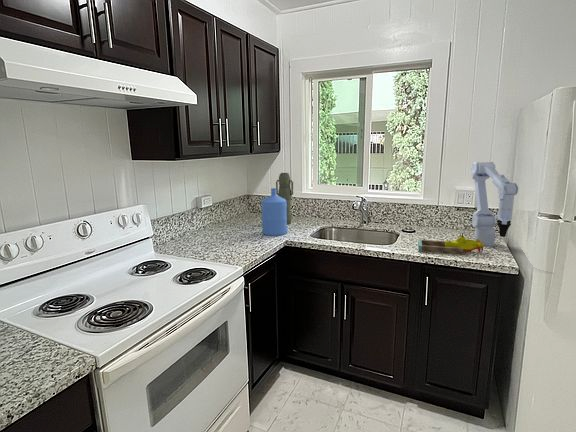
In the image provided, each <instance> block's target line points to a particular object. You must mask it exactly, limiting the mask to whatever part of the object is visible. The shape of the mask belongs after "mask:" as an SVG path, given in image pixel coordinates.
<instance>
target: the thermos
mask: <svg viewBox="0 0 576 432" xmlns="http://www.w3.org/2000/svg"><path fill="white" fill-rule="evenodd" d="M275 187H276V195H277V196H279V197H281V198H283V199H286V203H287V207H286V209H287V226H289V225H291V224H292V223H293V222H292V220H293V218H292V217H293V216H292V206H291V205H292V203H291V200H292V196H293V195H294V181H293V180H292V179H291V177H290V174H289V173H288V172H280V174H279V176H278V179H277V180H276V182H275Z"/></svg>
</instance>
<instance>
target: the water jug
mask: <svg viewBox="0 0 576 432" xmlns="http://www.w3.org/2000/svg"><path fill="white" fill-rule="evenodd" d="M270 190H271V191H270V195H269V196H267V197H265V198H264V199H262V200H261V203H260V206H261V223H262V224H261V225H262V227H261V231H262V235H264V234H265V236H268V235H269V237H279V236H283V235H286V234H287V233H288V225H287V209H286V207H287V203H286V199H283V198H281V197H279V196H278V195H277V194H276V188H270Z"/></svg>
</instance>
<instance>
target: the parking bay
mask: <svg viewBox="0 0 576 432" xmlns="http://www.w3.org/2000/svg"><path fill="white" fill-rule="evenodd" d="M417 241H418V242H417V249H418V252H421V253H434V254H436V253H437V254H445V255H446V254H448V255H458V254H459V256H460V255H461V256H463V255H464V252H463V248H454V247H445V241H446V240H432V239H418V240H417Z"/></svg>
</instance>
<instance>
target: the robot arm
mask: <svg viewBox="0 0 576 432" xmlns="http://www.w3.org/2000/svg"><path fill="white" fill-rule="evenodd" d="M470 171H471V179H473V181H474V182H473V183H474V189H475V191H474V192H475V198H476V207H477V210H476V211H475V212H473V214H472V220H471V224H472V225H473V227H474V228H475V229H474V238H475V239H474V238H473V240H474V241H475V240H476V239H479V241H481V242H483V244H484V247H485V246H486V247H495V244H496V243H495V241H496V229H495V228H493V227H494V226H495V225H496V223H497V226H498V230H499V231H498V232H499V237H501V238H505V237H506V235H507V232H508V230H509V228H510V227H511V225H512V223H511V222H512V220H513V210H514V201H515V196H516V195H517V194H518V192H519V186H518V185H517V183H516V182H510V180H509V179H508V178H507V177H506V175H505V174H499V172H498V171H497V170H496V164H495V163H494V162H493V161H490V162H489V161H485V162H484V161H482V162H480V161H478V162H477V161H475V162H473V164H472V166H471V168H470ZM490 178H491V179H492V183H493V184H494V186H495V187H496V188H497V193H498V199H499V203H498V209H497V210H498V211H497V212H498V213H497V215H496V216H495V214H494V212H493V211H491V210H490V209H489V202H488V194H487V185H486V180H487V179H490ZM496 220H497V221H496Z"/></svg>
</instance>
